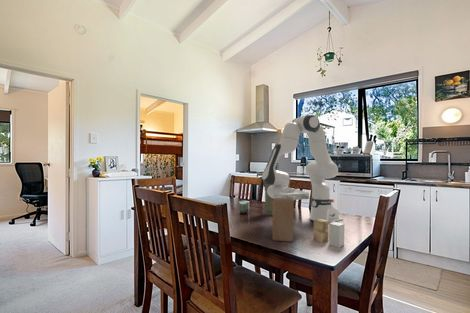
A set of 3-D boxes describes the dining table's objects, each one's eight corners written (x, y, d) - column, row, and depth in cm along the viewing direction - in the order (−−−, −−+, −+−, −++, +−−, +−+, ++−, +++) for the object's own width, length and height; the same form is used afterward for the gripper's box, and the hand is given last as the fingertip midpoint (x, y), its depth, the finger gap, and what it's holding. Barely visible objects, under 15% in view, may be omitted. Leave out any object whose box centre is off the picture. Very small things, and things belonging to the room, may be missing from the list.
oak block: (320, 238, 130) (321, 218, 130) (328, 241, 126) (328, 220, 126) (313, 239, 128) (313, 219, 128) (320, 242, 124) (321, 222, 124)
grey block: (334, 242, 124) (334, 221, 124) (344, 244, 120) (344, 223, 120) (329, 244, 121) (329, 223, 121) (339, 247, 117) (339, 225, 117)
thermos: (263, 212, 190) (264, 165, 190) (279, 213, 186) (279, 166, 186) (260, 214, 182) (261, 166, 182) (277, 216, 178) (277, 166, 178)
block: (293, 242, 123) (293, 201, 123) (272, 241, 125) (272, 200, 125) (292, 236, 133) (293, 198, 133) (273, 235, 135) (273, 197, 135)
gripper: (272, 189, 147) (287, 193, 135) (299, 188, 156) (315, 191, 144) (271, 200, 147) (286, 204, 135) (299, 199, 156) (315, 202, 144)
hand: (302, 198), depth 139 cm, fingers open, 8 cm apart
